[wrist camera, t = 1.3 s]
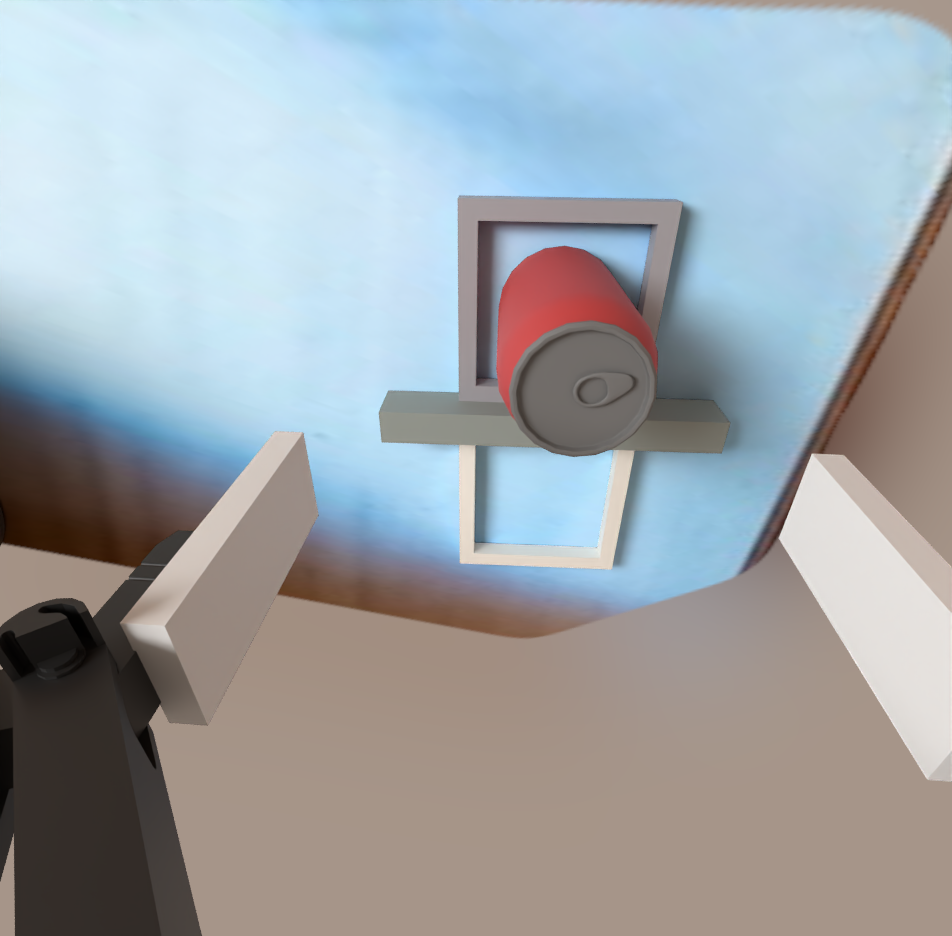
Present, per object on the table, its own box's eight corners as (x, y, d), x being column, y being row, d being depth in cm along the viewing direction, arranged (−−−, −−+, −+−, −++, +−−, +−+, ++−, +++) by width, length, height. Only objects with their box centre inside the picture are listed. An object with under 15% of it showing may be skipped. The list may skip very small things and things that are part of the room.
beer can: (624, 344, 32) (680, 448, 22) (515, 373, 33) (519, 483, 23) (606, 227, 28) (662, 284, 18) (485, 263, 30) (474, 336, 20)
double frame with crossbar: (401, 549, 41) (394, 578, 38) (372, 193, 28) (359, 201, 26) (670, 560, 40) (681, 589, 38) (766, 201, 27) (793, 208, 25)
